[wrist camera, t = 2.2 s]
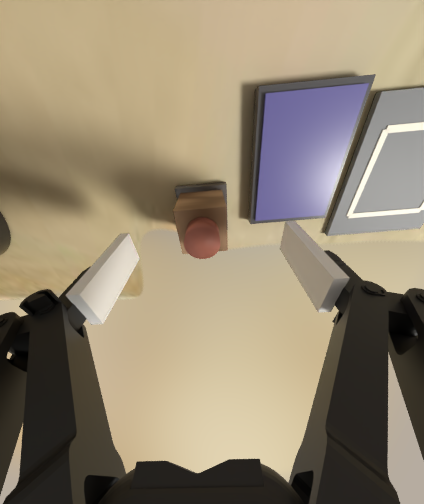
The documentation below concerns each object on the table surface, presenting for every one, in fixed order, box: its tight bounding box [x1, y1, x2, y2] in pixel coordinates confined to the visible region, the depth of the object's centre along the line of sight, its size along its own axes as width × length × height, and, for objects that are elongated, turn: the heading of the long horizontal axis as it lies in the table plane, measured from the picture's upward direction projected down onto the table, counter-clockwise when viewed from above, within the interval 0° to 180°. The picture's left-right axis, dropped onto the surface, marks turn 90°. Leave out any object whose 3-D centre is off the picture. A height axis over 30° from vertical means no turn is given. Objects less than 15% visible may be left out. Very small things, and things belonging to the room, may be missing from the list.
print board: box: [325, 87, 424, 236], centre depth 18 cm, size 12×14×1 cm
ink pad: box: [248, 74, 376, 224], centre depth 17 cm, size 9×12×2 cm
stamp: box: [173, 182, 228, 259], centre depth 17 cm, size 6×6×8 cm
